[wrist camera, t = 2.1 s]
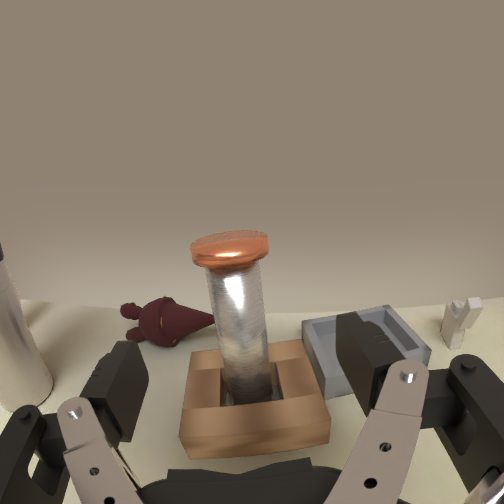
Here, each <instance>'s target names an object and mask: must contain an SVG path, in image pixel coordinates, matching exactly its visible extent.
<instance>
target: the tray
mask: <svg viewBox="0 0 504 504" xmlns="http://www.w3.org/2000/svg"><path fill="white" fill-rule="evenodd" d="M355 312H356V313H357V314H358V315H359V316H360V318H361V319H362V320H363V321H364V322H366V321H371V322H373V323H375V324H377V325H378V326H380V327H381V329H382V330H383V331H384V332H385V335H387V336H388V337H389V338H390V341H392V342H393V343H394V344H395V346H396V347H397V348H398V349H399V350H400V352H401V353H402V354H403V355H404V357H405V358H406V359H410V360H416V361H419V362H421V363H423V364H424V365H425V366H426V367H427V366H428V363H429V359H430V355H431V351H432V350H431V349H430V348H429V347H428V346H427V345H426V343H425V342H424V341H423V340H422V339H421V338H420V337H419V336H418V335H417V334H416V333H415V332H414V331H413V330H412V328H411V327H410V326H409V325H408V324H407V323H406V322H405V321H404V320H403V319H402V318H401V317H400V316H399V315H398V314H397V313H396V312H395V311H394V310H393V309H392V308H391V307H390V306H389V305H385V306H380V307H375V308H370V309H365V310H360V311H355ZM336 316H337V315H333V316H328V317H322V318H316V319H310V320H303V321H302V341H303V344H304V346H305V349H306V352H307V354H308V357H309V359H310V362H311V365H312V367H313V370H314V373H315V375H316V378H317V381H318V383H319V386H320V389H321V392H322V394H323V397H324V400H326V399H330V398H335V397H339V396H344V395H348V394H352V393H354V392H353V390H352V388H351V386H350V384H349V382H348V380H347V378H346V376H345V374H344V372H343V370H342V368H341V366H340V364H339V362H338V359H337V356H336V347H335V346H336Z"/></svg>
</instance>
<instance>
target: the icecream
mask: <svg viewBox="0 0 504 504" xmlns="http://www.w3.org/2000/svg"><path fill="white" fill-rule="evenodd" d="M120 312H121V315H122V316H123V317H125V318H127V319H132V320H137V319H139V327H135V328H132V329H130V330H128V331H127V333H126V338H127V340H135V341H136V342H139V341H142V340H144V339H148V340H150V341H152V342H153V343H155V344H157V345H163V346H166V347H171V346H176V345H177V343H178V340H179V338H181V337H184V336H186V335H188V334H190V333H193V332H195V331H197V330H200V329H202V328H204V327H207V326H209V325H211V324H214V323H215V321H214V316H213V315H212V314H208V313H205V312H202V311H198V310H195V309H191V308H188V307H185V306H181V305H178V304H176V302H175V301H174V300H173V299H172V298H169V297H163V298H159V299H157V300H154V301H152V302H150V303H148V304H147V305H145V306H144V307H143V308H141V307H139V306H136V305H135V303H130V304H129V303H126V304H124V305H122V306H121V308H120Z"/></svg>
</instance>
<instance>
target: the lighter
mask: <svg viewBox="0 0 504 504" xmlns="http://www.w3.org/2000/svg"><path fill="white" fill-rule="evenodd" d="M482 309H483V306H482V302H481V299H480V298H479V297H476V298H469V299H467V301H466V303H465V305H464V306H463V304H462V303H461V301H459V300H457V301H456V300H455V301H453V302H452V303H447V304H446V309H445V314H444V319H443V324H442V328H441V334H442V336H443V338H444V340H445V342H446V344H447V346H448V349H458V348H460V346H461V343H462V339H463V336H464V332H465V329H467V328H471V327H472V325H473V324H474V322H475V321H476V319H477V317H478V316H479V314H480V313H481V311H482Z"/></svg>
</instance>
